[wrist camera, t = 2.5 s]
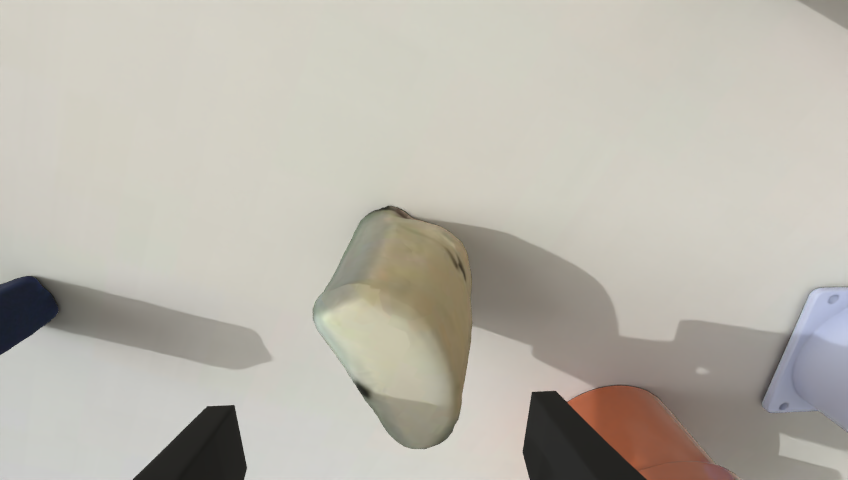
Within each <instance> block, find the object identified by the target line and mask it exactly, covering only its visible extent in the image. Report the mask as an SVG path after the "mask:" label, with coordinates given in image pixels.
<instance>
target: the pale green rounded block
mask: <svg viewBox="0 0 848 480" xmlns="http://www.w3.org/2000/svg"><path fill="white" fill-rule="evenodd" d="M471 286H472V276H471V270H470V267H469V259H468V255H467V252H466V250H465V248H464V246H463V244H462V242H461V241H460V240H459V239H457V238H456V237H455V236H454V235H453V234H452V233H450V232H449V231H448V230H446V229H444V228H443V227H440V226H438V225H435V224H430V223H428V222H425V221H421V220H417V219H414V218H412V217H410V216H409V215H408V214H407V213H406V212H404V211H403V210H401V209H399V208H397V207H393V206H387V207H385V208H381V209H379V210H375V211H373V212H371V213H369V214H368V215H367V216H365V217H364V218H363V219H362V220H361V221H360V223H359V225H358V227H357V229H356V231H355V232H354V235H353V238H352V239H351V241H350V243H349V245H348V247H347V249H346V251H345V253H344V255H343V257H342V259H341V261H340V263H339V266H338V268H337V270H336V272H335V273H334V275H333V277H332V279H331V281H330V282H329V284H328V285H327V287H326V288H325V290H324V292H323V293H322V294H321V295H320V296H319V297H318V299H317V300H316V302H315V305H314V307H313V321H314V323H315V326H316V328H317V330H318V332H319V333H320V334H321V336H322V337H323V338H324V340H325V341H326V343H327V344H328V345H329V346H330V348H331V349H332V351H333V352H334V353H335V355H336V356H337V358H338V359H339V360H340V362H341V363H342V365H343V366H344V368H345V369H346V371H347V373H348V374H349V376H350V377H351V379H352V380H353V382H354V383H355V385H356V387H357V388H358V390H359V391H360V393H361V394H362V396H363V397H364V399H365V401H366V402H367V403H368V404H369V406H370V407H371V408H372V409H373V410H374V412H375V413H376V415H377V416H378V418H379V420H380V421H381V423H382V425H383V426H384V428H385V429H386V431H387V432H388V434H389V435H390V436H391V437H392V438H394V439H395V440H396V441H397V442H398V443H400V444H401V445H403V446H405V447H408V448H411V449H427V448H429V447H432V446H435V445H438V444H440V443H441V442H443V441H444V440H446V439H447V438H448V437H449V435H450V434H451V433H452V431H453V428H454V426H455V424H456V422H457V421H458V418H459V414H460V409H461V404H462V392H463V385H464V381H465V375H466V369H467V363H468V356H469V350H470V343H471V329H472V312H471V299H470V296H471Z"/></svg>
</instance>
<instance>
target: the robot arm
mask: <svg viewBox="0 0 848 480" xmlns="http://www.w3.org/2000/svg"><path fill="white" fill-rule="evenodd" d="M762 407H763V408H764V409H765V410H766V411H768V412H769V413H782V412H802V411H820V412H821V413H823V414H824V415H825V416H827V417H828V418H829V419H831V420H832V421H833V422H834V423H836V424H837V425H838V426H840V427H841V428H842V429H844V430H845V431H846V432H848V287H823V288H817V289H815V290H813V291H812V292H811V293H810V295H809V296H808V299H807V301H806V303H805V305H804V308H803V310H802V312H801V315H800V317H799V319H798V321H797V324H796V326H795V328H794V331H793V333H792V335H791V337H790V340H789V342H788V344H787V347H786V349H785V351H784V353H783V356H782V358H781V360H780V363H779V365H778V367H777V370H776V372H775V374H774V376H773V379H772V381H771V383H770V386H769V388H768V390H767V392H766V395H765V397H764V399H763V402H762ZM523 455H524V459H525V463H526V467H527V471H528V475H529V478H530V480H647V479H646V478H645V477H644V476H643V475H641V474H640V473H639V472H638V471H637V470H636V469H635V468H634V467H633V466H632V465H631V464H630V463H628V462H627V461H626V460H625V459H624V458H623V457H622V456H621V455H620V454H619V453H618V452H617V451H616V450H615V449H614V448H613V447H612V446H611V445H609V444H608V443H607V442H606V441H605V440H604V439H603V438H602V437H601V436H600V435H599V434H598V433H597V432H596V431H595V430H594V429H593V428H592V427H591V426H590V425H589V424H588V423H587V422H586V421H585V420H584V419H583V418H582V417H581V416H580V415H579V414H578V413H577V412H576V411H575V410H574V409H573V408H572V407H571V406H570V405H569V404H568V403H567V402H566V401H565V400H564V399H563V398H562V397H561V396H560V395H559V394H558V393H557V392H556V391H544V392H532V395H531V402H530V408H529V415H528V421H527V427H526V434H525V440H524V447H523ZM246 470H247V466H246V461H245V456H244V451H243V446H242V441H241V436H240V431H239V426H238V421H237V416H236V411H235V406H234V405H228V406H207V407H206V408H205V409H204V410H203V411H202V412H201V413H200V414H199V415H198V416H197V417H196V418H195V419H194V420H193V421H192V422H191V423H190V424H189V425H188V426H187V427H186V428H185V429H184V430H183V431H182V432H181V433H180V434H179V435H178V436H177V437H176V438H175V439H174V440H173V441H172V442H171V443H170V444H169V445H168V446H167V447H166V448H165V449H164V450H163V451H162V452H161V453H160V454H159V455H158V456H156V457H155V458H154V459H153V460H152V461H151V462H150V463H149V464H148V465H147V466H146V467H145V468H144V469H143V470H142V471H141V472H140V473H139V474H138V475H137V476H136V477H135V478H134V479H133V480H244V477H245V473H246Z"/></svg>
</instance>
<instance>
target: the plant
mask: <svg viewBox="0 0 848 480" xmlns="http://www.w3.org/2000/svg"><path fill="white" fill-rule="evenodd" d="M567 403H568V404H569V405H570V406H571V407H572V408H573V409H574V410H575V411H576V412H577V413H578V414H579V415H580V416H581V417H582V418H583V419H584V420H585V421H586V422H587V423H588V424H589V425H590V426H591V427H592V428H593V429H594V430H595V431H596V432H597V433H598V434H599V435H600V436H601V437H602V438H603V439H604V440H605V441H606V442H607V443H608V444H609V445H611V446H612V447H613V448H614V449H615V450H616V451H617V452H618V453H619V454H620V455H621V456H622V457H623V458H624V459H625V460H626V461H627V462H628V463H630V464H631V465H632V466H633V467H634V468H635V469H636V470H637V471H638V472H639V473H640V474H641V475H643V476H644V477H645V478H646V479H647V480H741V479H740V478H739V477H738V476H737V475H736V474H735V473H733V472H731V471H729V470H728V469H726V468H724V467H721V466H718V465H716V463H715V462H714V461H713V460H712V459H711V458H710V457H709V455H708V454H707V453H706V452H705V451H704V450H703V448H702V447H701V446H700V445H699V444H698V443H697V441H696V440H695V439H694V438H693V437H692V436H691V435H690V433H689V432H688V431H687V430H686V429H685V428H684V426H683V425H682V424H681V423H680V422H679V421H678V419H677V418H676V417H675V416H674V415H673V414H672V413H671V411H670V410H669V409H668V408H667V407H666V406H665V404H664V403H663V402H662V401H661V400H660V399H659V398H658V397H657V396H655V395H654V394H652V393H650V392H648V391H646V390H644V389H641V388H637V387H632V386H607V387H602V388H598V389H594V390H591V391H588V392H586V393H583V394H581V395H579V396H577V397H575V398H573V399H571V400H570V401H568V402H567Z"/></svg>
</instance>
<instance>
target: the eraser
mask: <svg viewBox="0 0 848 480" xmlns="http://www.w3.org/2000/svg"><path fill="white" fill-rule="evenodd" d="M57 313H58V307H57V304H56V302H55V300H54V298H53V296H52V295H51V293H50V292H48V291H47V290H46V289H45V288H43V287H42V285H41V284H40V283H39V282H38V280H37V279H36V278H34V277H32V276H25V277H21V278H17V279H14V280H12V281H9V282H7V283H3V284H0V355H1V354H3V353H4V352H6V351H8V350H9V349H11V348H12V347H13V346H15V345H17V344H18V343H19V342H21V341H23V340H24V339H26V338H27V337H29V336H31V335H32V334H33V333H35V332H36V331H37V330H38V329H40V328H41V327H43V326H44V325H46V324H47V323H48V322H49V321H51V320H52V319H53V318H54V317H55V316H56V315H57Z"/></svg>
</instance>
